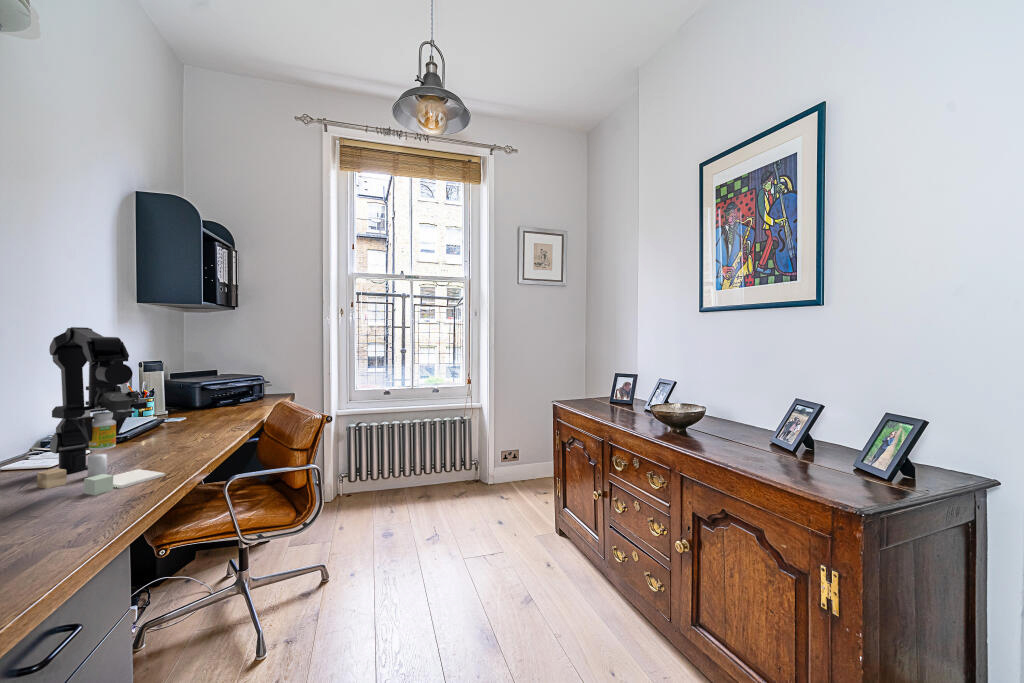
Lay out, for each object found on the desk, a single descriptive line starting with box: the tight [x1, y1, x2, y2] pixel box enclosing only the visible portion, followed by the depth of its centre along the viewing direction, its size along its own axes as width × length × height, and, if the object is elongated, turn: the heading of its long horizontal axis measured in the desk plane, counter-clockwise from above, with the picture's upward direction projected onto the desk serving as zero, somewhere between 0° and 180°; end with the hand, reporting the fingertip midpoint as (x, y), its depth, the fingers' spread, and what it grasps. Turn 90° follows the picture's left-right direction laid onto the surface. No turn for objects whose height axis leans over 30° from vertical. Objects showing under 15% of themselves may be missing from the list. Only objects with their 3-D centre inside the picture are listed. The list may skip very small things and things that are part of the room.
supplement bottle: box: [88, 411, 117, 451], centre depth 116 cm, size 5×5×10 cm
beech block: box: [36, 467, 67, 490], centre depth 115 cm, size 4×4×4 cm
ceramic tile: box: [113, 468, 166, 489], centre depth 121 cm, size 11×11×1 cm
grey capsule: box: [87, 453, 108, 478], centre depth 123 cm, size 4×4×6 cm
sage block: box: [83, 473, 114, 496], centre depth 111 cm, size 4×4×4 cm
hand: (102, 438), depth 116 cm, fingers closed on supplement bottle, 5 cm apart
